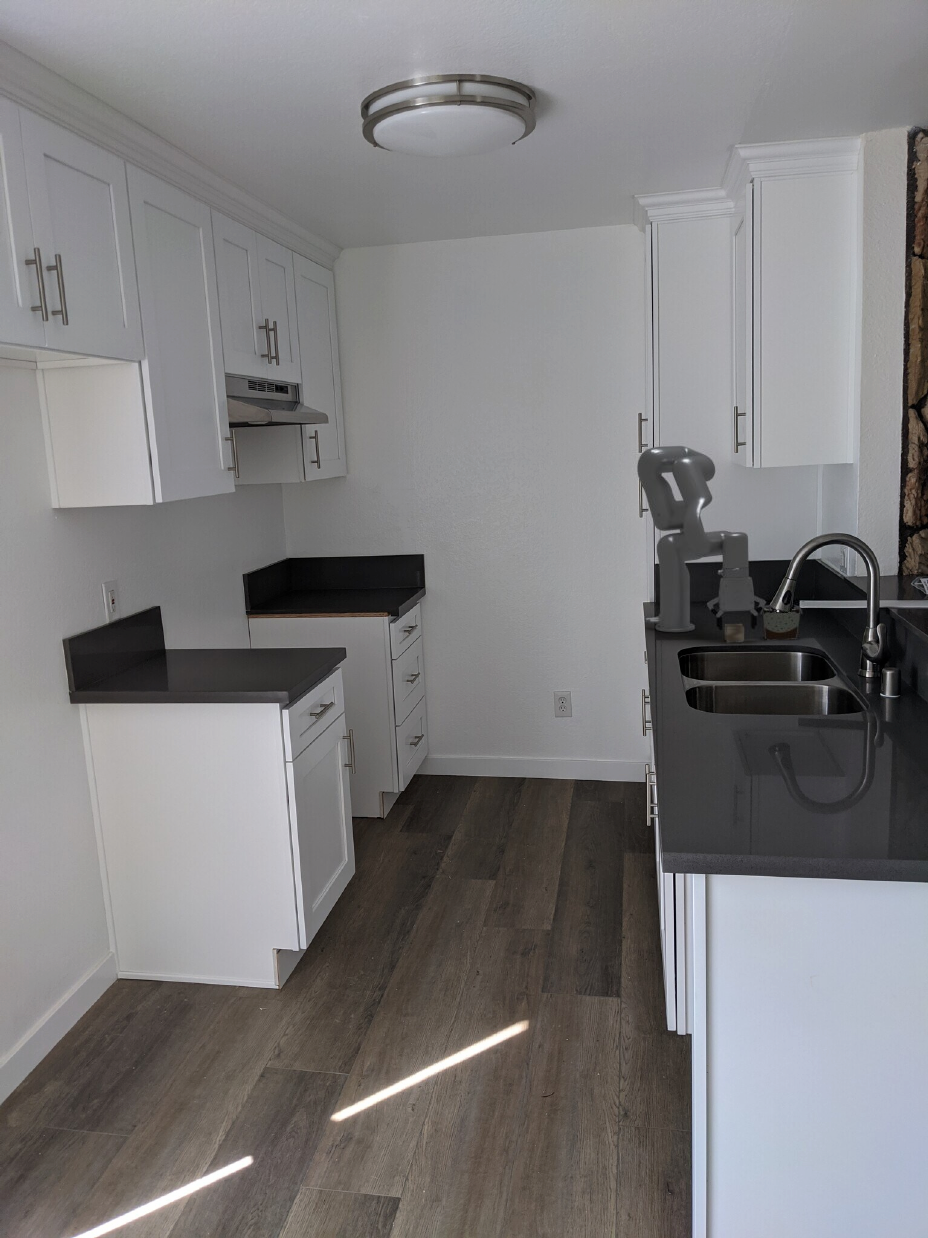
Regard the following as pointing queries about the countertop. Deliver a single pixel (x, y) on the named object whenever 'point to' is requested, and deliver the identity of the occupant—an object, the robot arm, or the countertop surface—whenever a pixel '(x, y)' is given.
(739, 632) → the maple block
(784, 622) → the food container
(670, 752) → the countertop surface
